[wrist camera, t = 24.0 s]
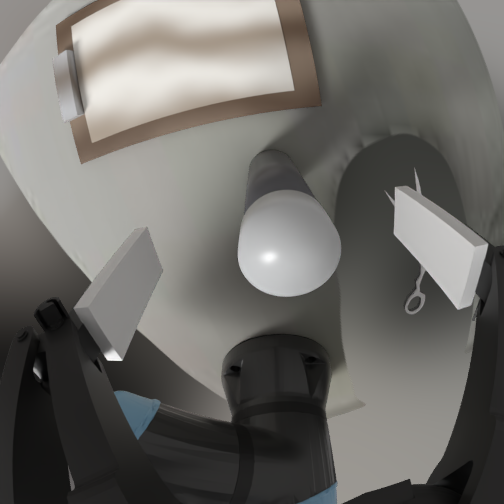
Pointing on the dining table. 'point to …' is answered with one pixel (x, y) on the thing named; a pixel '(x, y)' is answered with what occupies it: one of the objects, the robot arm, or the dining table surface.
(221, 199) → the dining table surface
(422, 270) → the scissors
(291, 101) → the clipboard
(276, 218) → the marker
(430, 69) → the dining table surface
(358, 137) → the dining table surface
